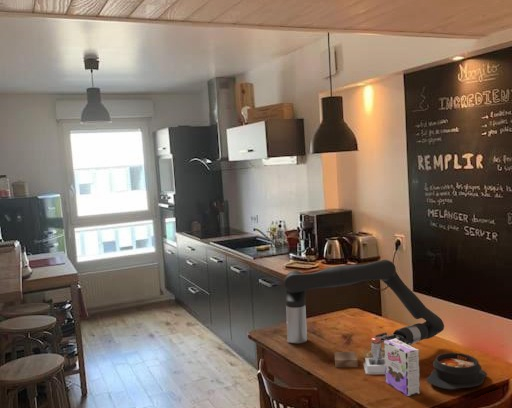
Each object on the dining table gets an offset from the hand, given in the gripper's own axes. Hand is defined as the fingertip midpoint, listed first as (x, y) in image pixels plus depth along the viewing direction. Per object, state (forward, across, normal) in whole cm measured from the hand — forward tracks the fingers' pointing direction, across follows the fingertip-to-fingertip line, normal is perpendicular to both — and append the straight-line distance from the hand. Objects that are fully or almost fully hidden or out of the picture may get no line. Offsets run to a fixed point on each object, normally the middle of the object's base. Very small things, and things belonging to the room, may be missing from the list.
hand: (380, 345), depth 210 cm
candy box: (+8, +17, +10) cm, 21 cm away
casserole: (-12, +27, +10) cm, 31 cm away
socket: (+2, 0, +9) cm, 10 cm away
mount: (+7, -13, +9) cm, 18 cm away
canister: (+2, 0, +9) cm, 9 cm away
